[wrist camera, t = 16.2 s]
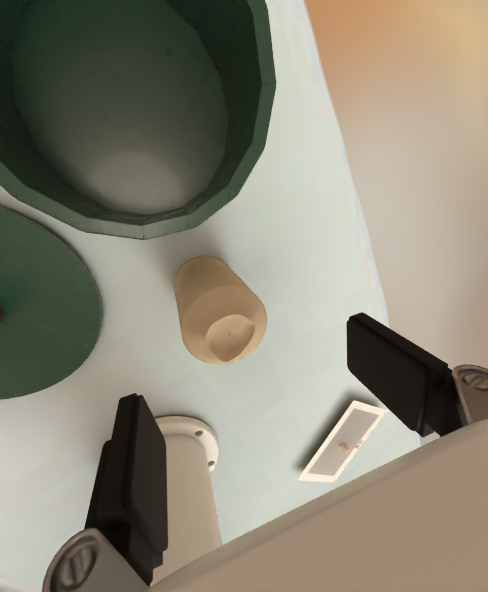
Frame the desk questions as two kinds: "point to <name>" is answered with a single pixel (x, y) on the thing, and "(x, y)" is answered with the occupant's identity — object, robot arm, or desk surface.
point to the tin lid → (42, 308)
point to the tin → (132, 109)
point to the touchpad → (343, 442)
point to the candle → (217, 312)
